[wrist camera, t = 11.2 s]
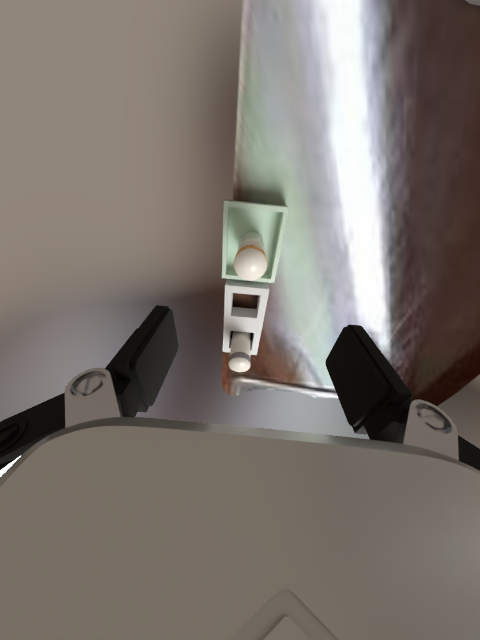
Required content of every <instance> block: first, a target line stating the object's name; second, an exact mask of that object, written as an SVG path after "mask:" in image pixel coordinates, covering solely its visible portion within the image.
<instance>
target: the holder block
mask: <svg viewBox="0 0 480 640" xmlns="http://www.w3.org/2000/svg"><path fill="white" fill-rule="evenodd" d="M233 293H241V294H252V295H259V297H258V303H257V309H250V308H240V307H232V304H233ZM268 294H269V284H268V283H267V282H257V281H247V280H236V279H227V280H226V284H225V302H224V331H223V352H230V351H231V343H232V338H230V334H231V331H238V332H249V333H253V334H252V340H250V354H251V355H257V351H258V346H259V340H260V335H261V330H262V325H263V320H264V315H265V309H266V304H267V299H268Z"/></svg>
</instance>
